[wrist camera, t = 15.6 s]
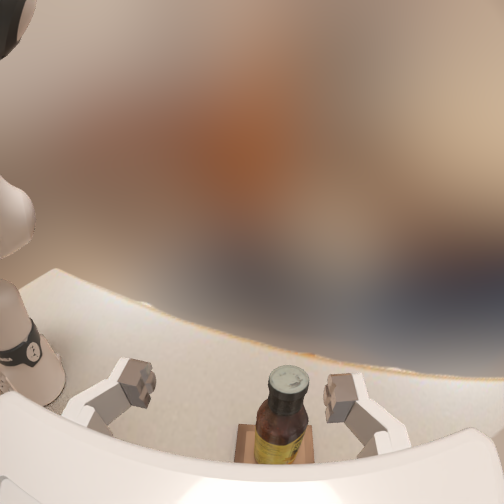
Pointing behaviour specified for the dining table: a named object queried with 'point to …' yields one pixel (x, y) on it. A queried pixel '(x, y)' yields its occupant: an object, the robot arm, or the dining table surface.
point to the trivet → (247, 442)
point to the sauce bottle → (282, 417)
